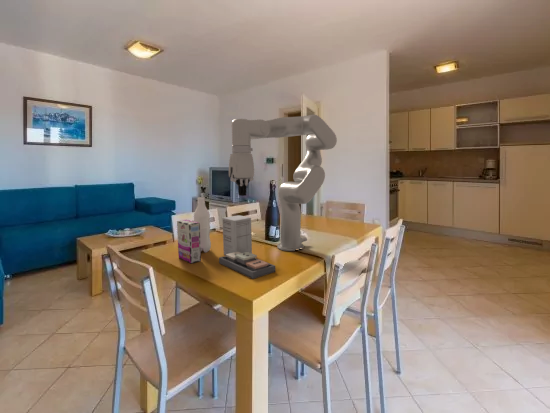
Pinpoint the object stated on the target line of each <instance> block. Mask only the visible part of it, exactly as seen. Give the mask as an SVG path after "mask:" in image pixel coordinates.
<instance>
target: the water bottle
mask: <svg viewBox="0 0 550 413" xmlns="http://www.w3.org/2000/svg"><path fill="white" fill-rule="evenodd" d="M205 201H206V200H205V197H204V196H201V197H199V196H198V197H197V202H196V203H197V206H196V208H195V211H194V212H193V221H194V222H198V223H200V248H201V253H202V252H203V253H209V251H210V250H211V246H212V242H211V237H210V233H211V221H210V220H211V218H210V217H211V214H210V212H209V209H208V208H207V206H206V202H205Z"/></svg>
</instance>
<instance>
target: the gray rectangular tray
mask: <svg viewBox="0 0 550 413" xmlns="http://www.w3.org/2000/svg"><path fill="white" fill-rule="evenodd" d="M240 253H241V252H240ZM258 259H259V258H257V257H255V260H258ZM260 260H261V261H263V260H262V259H260ZM218 263H219V264H220V265H221V266H224V267H226V268H228V269H231V270H233V271H235V272H236V273H240V274H241V275H244V276H246V277H247V278H250V279H252V280H254V279H258V278H262V277H263V276H264V277H265V276H266V275H269V274H273V273H276V265H274V264H273V263H269V262H267V263H268V265H267V267H266V268H263V269H259V270H256V271H251V270H249V269H247V265H246V264H245V265H244V264H242V263H233V262H231V261H228V260H227V257H226V255H223V256H220V257H218Z"/></svg>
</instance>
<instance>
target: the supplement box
mask: <svg viewBox="0 0 550 413" xmlns="http://www.w3.org/2000/svg"><path fill="white" fill-rule="evenodd" d="M252 237H253V236H252V218H251V217H249V216H243V215H234V216H233V215H232V216H227V217H222V238H223V239H222V243H223V244H222V246H223V256H226V254H229V253H233V252H241V253H245V252H249V253H252V254H253V249H252V248H253V245H252V244H253V243H252Z"/></svg>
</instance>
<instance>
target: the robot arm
mask: <svg viewBox="0 0 550 413" xmlns="http://www.w3.org/2000/svg"><path fill="white" fill-rule="evenodd" d="M306 135H307V136H306ZM296 136H306V138H305V148H306V149H305V150H306V154H305V157H304V158H303V160H302V161H301V163H300V164H299V165H298V166H297V167H296V169H295V171H294V172H293V181H285V182H283V183H281V185H279V188H278V191H277V192H278V194H277V195H278V199H279V205H280V243H278V244H277V247H276V248H277V250H280V251H285V252H296V251H295V250H296V249H300V248H303V247H305V246H304V244H303V242H306V241H308V239H307V237H306V236H305V237H301V233H302V232H301V231H302V230H301V224H302V223H301V221H302V220H301V216H302V215H301V214H302V213H301V211H302V210H301V206H300V205H305V204H308V203H309V202H311V200H312V199H313V198H314V196H315V195H316V194H317V193H318V191H319V189H320V188H321V187H322V185H323V183H324V182H325V178H326V173H325V169H324V168H323V167H322V166H321V165H322V162H323V160H322V159H323V157H322V154H321V150H325V151H326V150H332V149H334V148H335V147H336V145H337V141H338V139H337V135H336V133H335V131H334V130H333V129H332V128H331V127H330V125H328V124H327V122H326V120H324V119H323V118H322V117H320V116H319V115H317V114H309V115H303V116H301V115H300V116H287V117H284V116H283V117H277V118H274V119H269V120H264V119H251V120H250V119H246V118H234V119H233V120H232V121H231V145H232V146H231V148H232V149H231V150H232V153H231V154H230V155H229V160H228V161H229V162H228V178H230V182H232V183H234V184H236V186H237V189H238V190H237V191H238V192H237V193H238V196H239V197H240V196H242V197H243V196H244V197H245V196H247V186H248V185H249V183H250V182H252V181H254V176H255V165H254V158H253V154H252V152H253V147H252V142H251V141H252V140H257V139H258V140H259V139H268V138H269V139H270V138H271V139H272V138H275V139H279V138H289V137H296ZM303 249H304V248H303Z"/></svg>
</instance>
